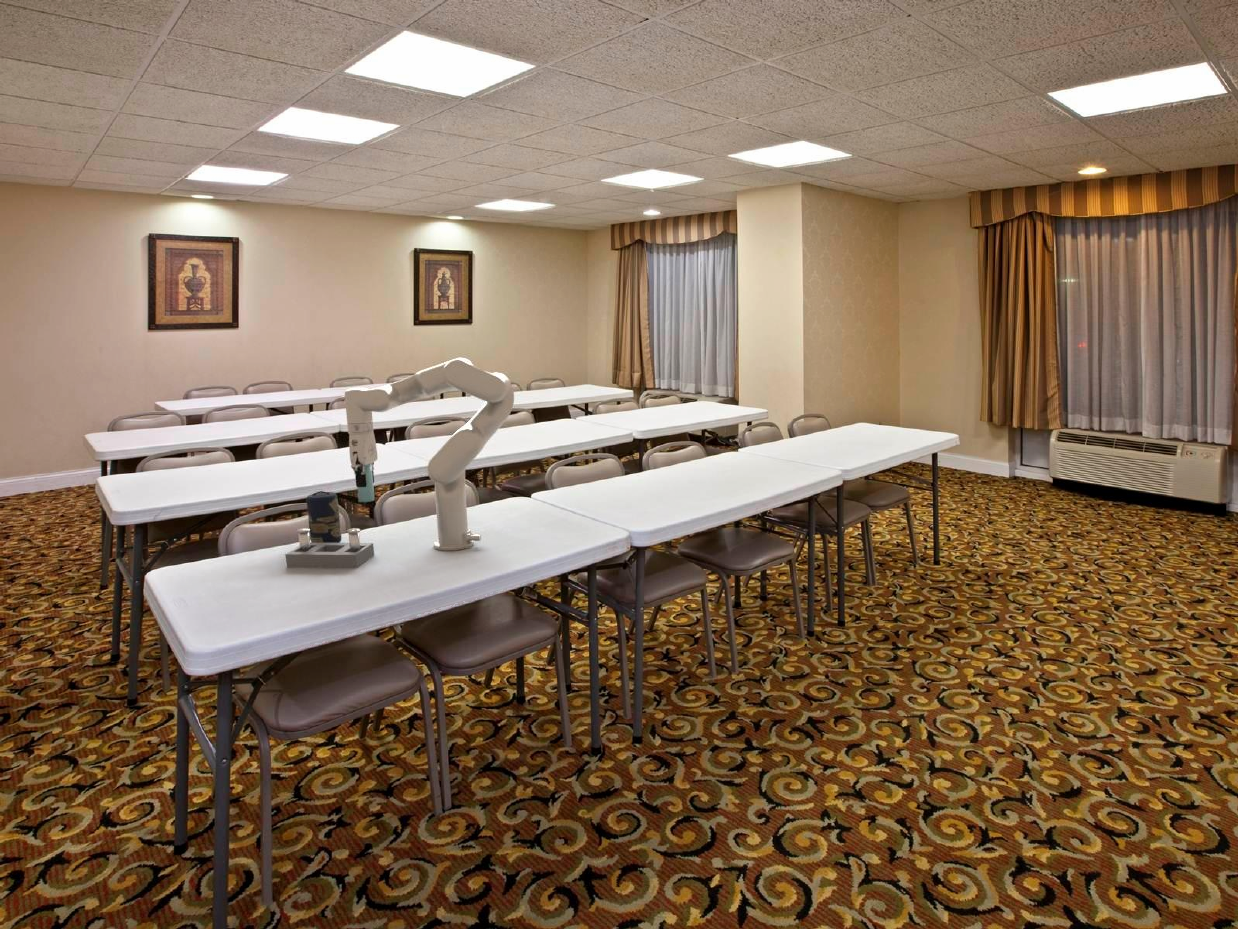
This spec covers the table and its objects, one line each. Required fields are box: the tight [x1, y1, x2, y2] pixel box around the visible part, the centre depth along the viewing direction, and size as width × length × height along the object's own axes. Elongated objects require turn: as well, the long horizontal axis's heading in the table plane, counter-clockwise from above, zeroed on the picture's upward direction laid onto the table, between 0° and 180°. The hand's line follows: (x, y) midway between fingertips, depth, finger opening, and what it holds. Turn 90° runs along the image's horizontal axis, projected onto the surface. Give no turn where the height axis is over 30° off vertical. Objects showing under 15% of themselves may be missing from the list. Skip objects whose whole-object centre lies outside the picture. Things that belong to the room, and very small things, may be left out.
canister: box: [305, 490, 343, 543], centre depth 243 cm, size 10×10×18 cm
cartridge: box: [356, 463, 376, 503], centre depth 235 cm, size 5×5×13 cm
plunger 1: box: [296, 527, 311, 552], centre depth 227 cm, size 4×4×9 cm
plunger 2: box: [346, 527, 361, 552], centre depth 225 cm, size 4×4×9 cm
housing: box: [285, 542, 375, 569], centre depth 227 cm, size 22×12×4 cm, turn 84°
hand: (365, 484), depth 235 cm, fingers closed on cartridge, 4 cm apart
